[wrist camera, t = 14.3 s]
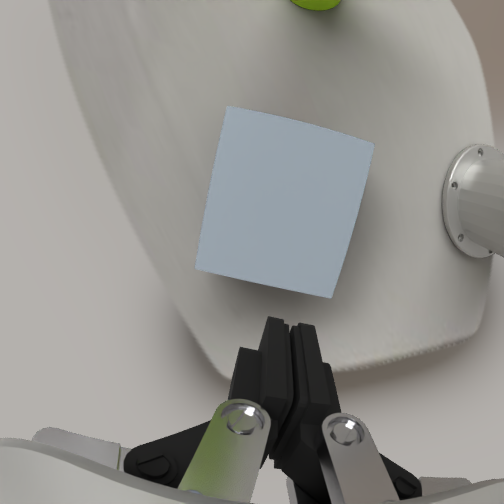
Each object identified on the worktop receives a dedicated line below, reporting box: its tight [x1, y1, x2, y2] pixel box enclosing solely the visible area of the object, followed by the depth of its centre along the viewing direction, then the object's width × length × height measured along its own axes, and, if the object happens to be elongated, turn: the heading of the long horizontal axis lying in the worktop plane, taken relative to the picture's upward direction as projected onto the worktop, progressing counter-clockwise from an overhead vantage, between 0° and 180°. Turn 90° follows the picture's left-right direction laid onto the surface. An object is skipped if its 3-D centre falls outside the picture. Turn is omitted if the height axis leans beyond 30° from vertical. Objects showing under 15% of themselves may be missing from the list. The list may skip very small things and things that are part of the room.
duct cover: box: [195, 106, 375, 299], centre depth 21 cm, size 11×12×1 cm
